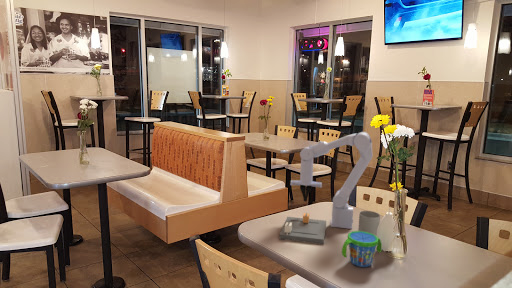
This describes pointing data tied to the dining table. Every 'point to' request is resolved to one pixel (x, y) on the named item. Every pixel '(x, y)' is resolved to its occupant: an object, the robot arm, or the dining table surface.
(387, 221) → the sauce bottle
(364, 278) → the dining table surface
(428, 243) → the dining table surface
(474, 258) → the dining table surface
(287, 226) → the block
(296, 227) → the console
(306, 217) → the block
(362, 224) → the cup
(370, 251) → the snack cup
